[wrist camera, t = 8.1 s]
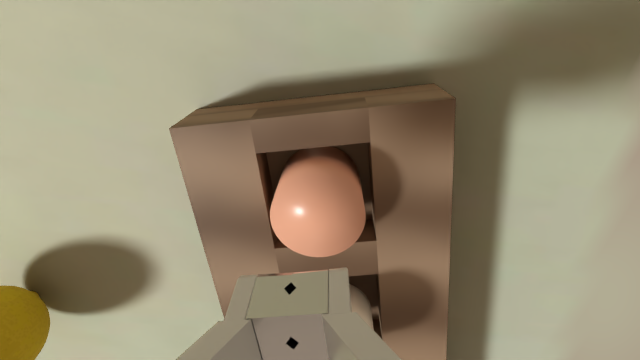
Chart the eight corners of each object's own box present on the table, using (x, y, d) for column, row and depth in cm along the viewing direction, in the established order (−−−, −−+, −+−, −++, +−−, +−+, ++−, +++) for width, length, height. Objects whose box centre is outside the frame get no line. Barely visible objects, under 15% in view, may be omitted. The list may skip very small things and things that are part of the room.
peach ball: (274, 149, 18) (262, 178, 15) (357, 141, 18) (362, 169, 14) (287, 220, 19) (278, 260, 16) (362, 214, 19) (368, 253, 16)
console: (196, 109, 19) (168, 128, 16) (433, 83, 18) (455, 98, 15) (269, 395, 28) (261, 444, 25) (430, 387, 27) (443, 438, 24)
